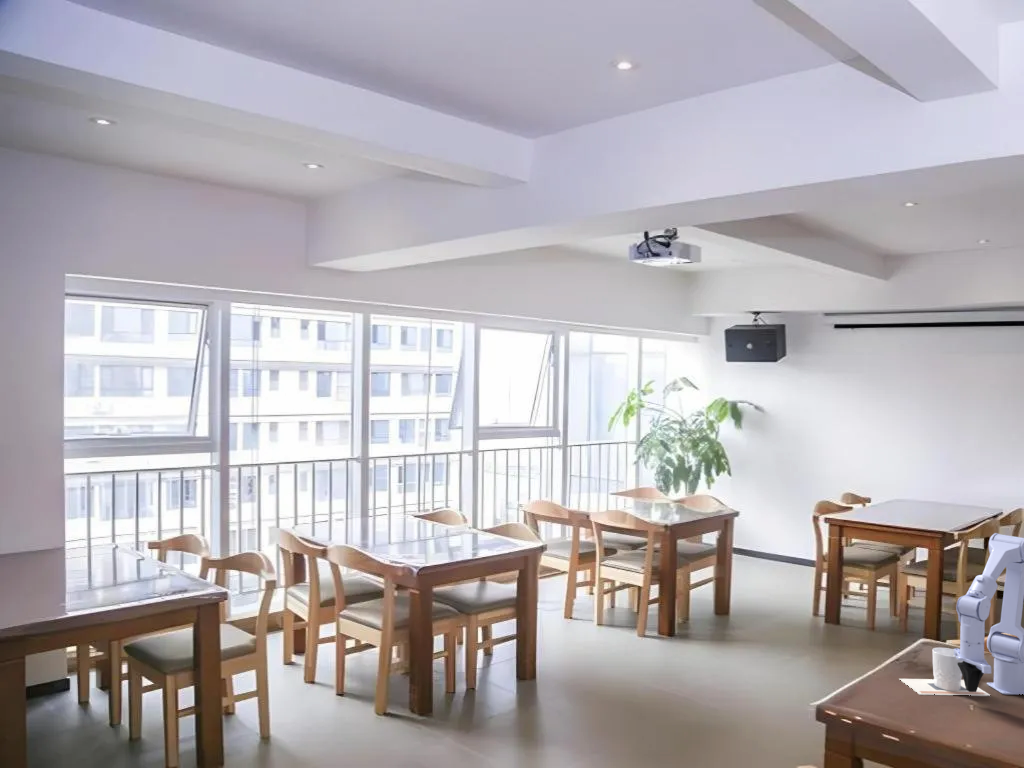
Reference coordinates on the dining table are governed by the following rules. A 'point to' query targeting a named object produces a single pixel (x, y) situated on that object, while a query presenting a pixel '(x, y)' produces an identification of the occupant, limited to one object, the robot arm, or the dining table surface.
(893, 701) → the dining table surface
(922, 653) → the dining table surface
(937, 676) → the white cup
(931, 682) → the menu card
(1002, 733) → the dining table surface
